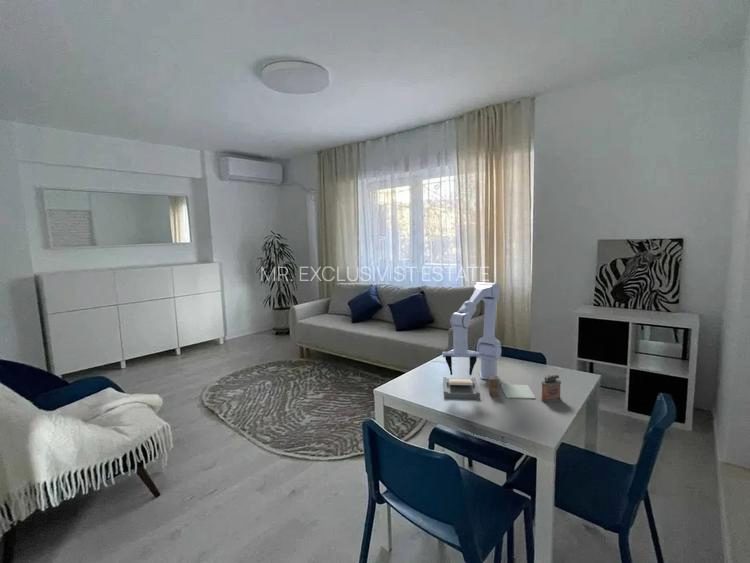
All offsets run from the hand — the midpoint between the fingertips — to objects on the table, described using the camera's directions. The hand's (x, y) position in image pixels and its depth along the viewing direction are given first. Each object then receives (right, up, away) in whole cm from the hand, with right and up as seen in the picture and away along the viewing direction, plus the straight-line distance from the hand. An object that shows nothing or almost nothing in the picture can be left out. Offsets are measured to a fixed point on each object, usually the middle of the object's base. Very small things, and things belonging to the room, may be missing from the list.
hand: (460, 374), depth 151 cm
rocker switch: (+1, -4, +4) cm, 6 cm away
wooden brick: (+13, -8, 0) cm, 16 cm away
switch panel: (+1, -8, +5) cm, 9 cm away
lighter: (+33, -8, -8) cm, 35 cm away
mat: (+24, -8, +1) cm, 25 cm away
